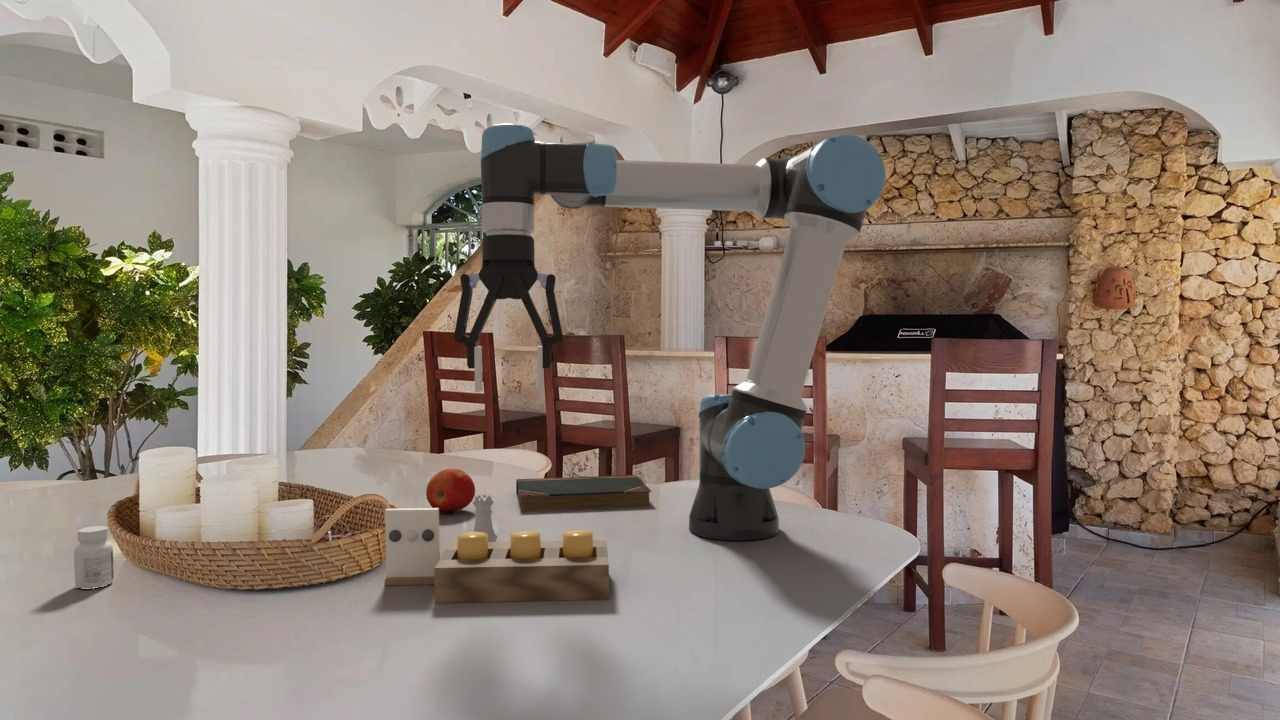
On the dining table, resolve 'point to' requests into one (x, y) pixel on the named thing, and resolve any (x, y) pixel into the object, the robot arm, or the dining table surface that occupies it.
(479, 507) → the rook chess piece
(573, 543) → the button
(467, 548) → the button
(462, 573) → the board
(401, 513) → the card
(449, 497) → the apple
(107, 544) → the pill bottle
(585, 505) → the book
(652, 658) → the dining table surface
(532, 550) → the button middle
